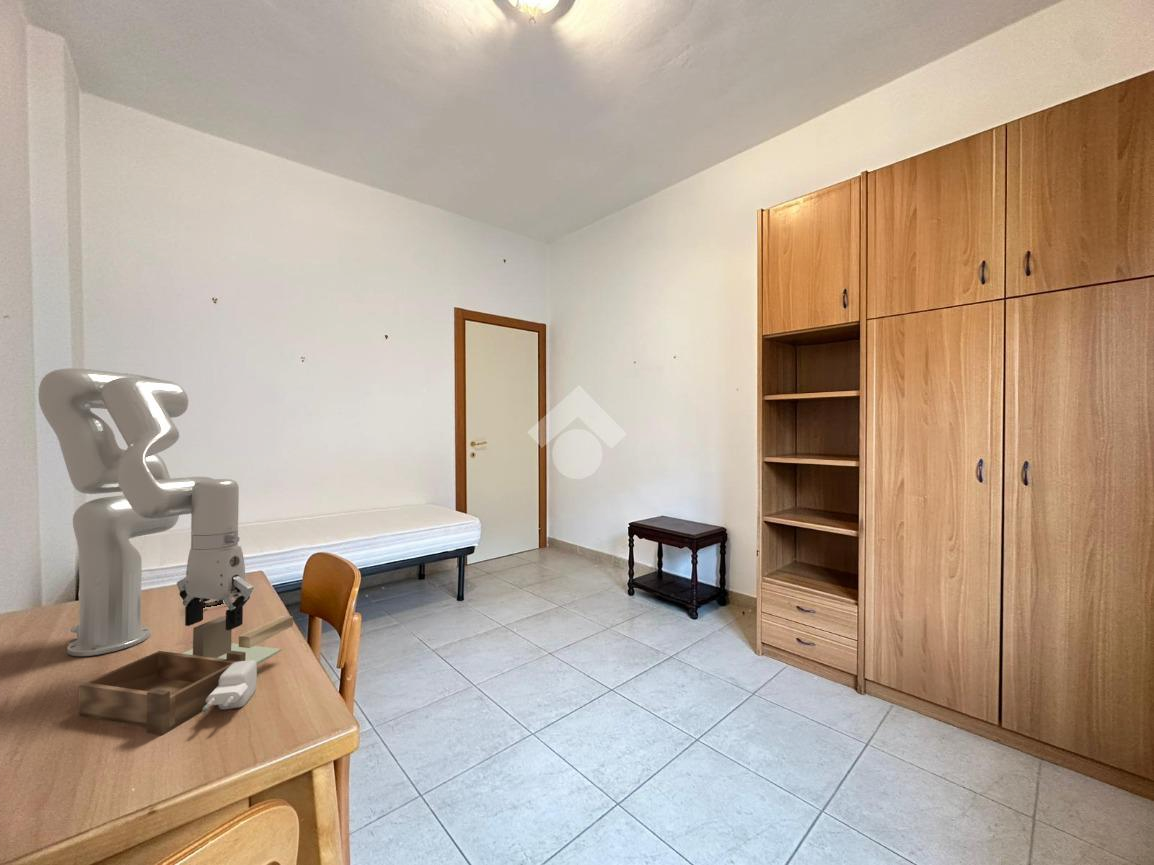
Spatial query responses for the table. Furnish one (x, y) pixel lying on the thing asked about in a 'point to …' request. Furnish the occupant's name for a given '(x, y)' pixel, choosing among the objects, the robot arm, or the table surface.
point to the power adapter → (234, 686)
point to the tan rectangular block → (265, 631)
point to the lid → (223, 643)
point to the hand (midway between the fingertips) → (214, 625)
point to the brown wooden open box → (155, 690)
